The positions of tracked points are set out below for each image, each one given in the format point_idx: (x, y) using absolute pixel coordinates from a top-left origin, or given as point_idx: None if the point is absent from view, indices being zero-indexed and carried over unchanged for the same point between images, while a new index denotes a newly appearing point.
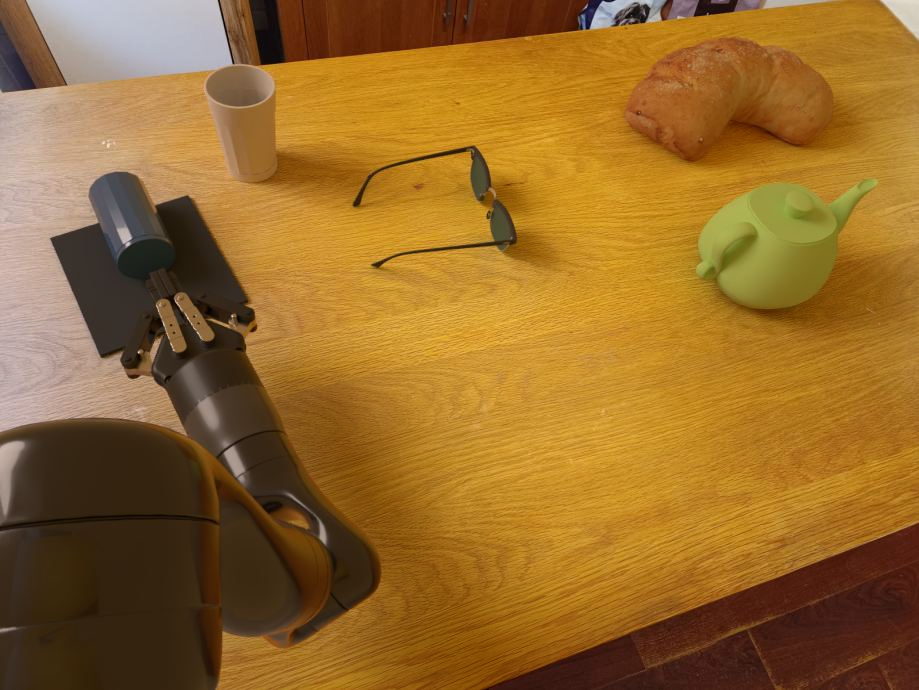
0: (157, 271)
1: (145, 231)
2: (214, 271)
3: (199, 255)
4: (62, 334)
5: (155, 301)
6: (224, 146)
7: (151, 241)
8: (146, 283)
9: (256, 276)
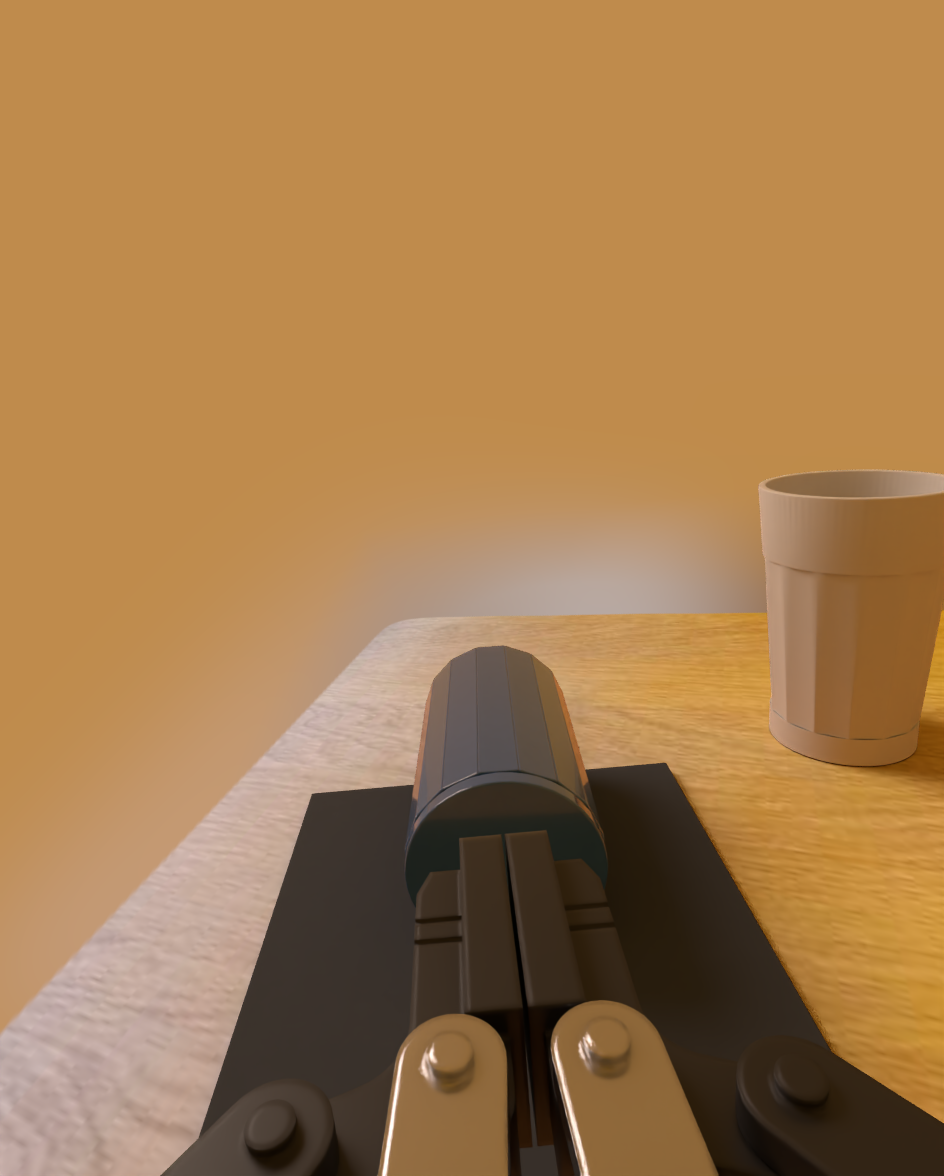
0: (505, 839)
1: (526, 763)
2: (736, 993)
3: (682, 920)
4: (133, 1084)
5: (417, 1023)
6: (785, 647)
7: (535, 798)
8: (422, 890)
9: (927, 1070)
